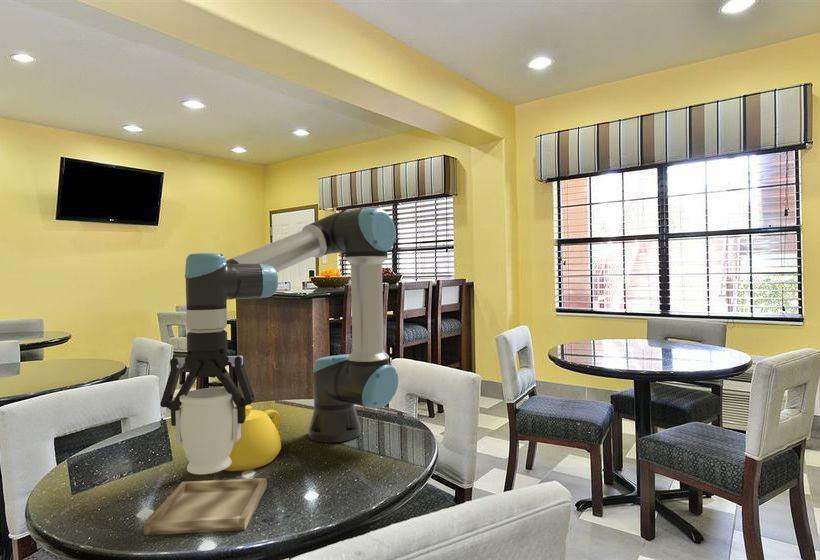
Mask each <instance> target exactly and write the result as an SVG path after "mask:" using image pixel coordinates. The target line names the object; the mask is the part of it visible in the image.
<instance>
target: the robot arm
mask: <svg viewBox="0 0 820 560" xmlns="http://www.w3.org/2000/svg"><path fill="white" fill-rule="evenodd" d="M396 237H397V232H396V225H395V223H394V221H393V219H392V217H390V215H389V213H388V212H386V210H384V209H381V208H377V207H375V208H374V207H364V208H361V209H352V210H348V211H339V212H336V213H335V212H334V213H332V214H330V215H328V216H326V217H323V218H321V219H318V220H315V221H314V222H311V223H309V224H307V225H305V226H303V228H302V229H301V231H299V232H296V233H294V234H291V235H288V236H285V237H283V238H281V239H278V240H275V241H273V242H270V243H267V244H265V245H263V246H260V247H258V248H255V249H252V250H249V251H247V252H244V253H242V254H239V255H237V256H234V257H231V258H229V259H227V257H226V255H225V254H224V253H213V252H200V253H199V252H198V253H194V252H193V253H190V254H189V255H187V256H186V259H185V270H184V271H185V272H184V278H185V303H186V304H185V305H186V307H185V308H186V309H185V313H186V317H185V318H186V319H185V320H186V321H185V322H186V323H185V324H186V326H185V327H186V329H187V330H188V332H187V333H186V356H184V357H183V356H182V357H180V356H175V357H173V358H171V359H170V360H169V367H170V370H169V374H168V377H167V380H166V384H165V388H164V391H163V394H162V397H161V401H160V407H161V408H167V409H168V410H170V425H171V426H172V427H175V444H177V445H179V444H182V443H183V441H182V438H181V432H180V416H181V410H182V407H181V406H182V405H183V403H181V402H180V396H181V395H184V394H185V396H186V395H187V394H188V392H189V391H191V388H192V387H193V385H194V384H195V383H196V381H197V379H198V378H201V379H202V378H205V377H207V378H216V379H217V380H218V381H220V383H221V385H222V386H223V388H225V389H226V391H227V392H228V393H229V394H231V395H232V400H233V401H234V405H235V408H233V442H237V441H238V440H239V439H240V438H241V423H244V422H245V419H246V411H245V407H246V405H248V406H251V404H252V403H253V402H255V400H256V398H255V395H254V392H253V389H252V386H251V383H250V380H249V376H248V374H247V371H246V369H245V357H244V355H242V354H240V355H230V354H229V352H228V332H227V330H226V328H227V327H228V324H227V323H228V322H227V321H228V320H227V319H228V318H227V317H228V316H227V315H228V313H227V308H228V307H227V306H228V305H227V304H228V302H227V300H241V299H243V300H244V299H247V300H249V299H259V300H260V299H264V298H270V297H272V296H274V295H275V293H276V292H277V289H278V286H279V276H278V273H279V272H281V271H283V270H285V269H288V268H289V267H293V266H294V265H297V264H299V263H301V262H303V261H305V260H308V259H310V258H312V257H313V258H321V257H324V256H326V255H330V254H341V253H344V258H345V260H346V261H347V262H348V263H349V264H350V282H351V283H350V284H351V285H350V289H351V291H350V292H351V337H352V350H351V352H350V353H348V354H347V353H346V354H345V353H344V354H337V355H335V354H334V355H328V356H323V357H319V358H317V359H315V361H314V362H313V371H312V377H313V378H312V379H313V382H312V383H313V406H314V408H313V412H312V416H311V419H310V423H309V427H308V438H309V439H310V440H312V441H313V442H318V443H326V444H327V443H330V444H331V443H333V444H334V443H342V442H347V441H351V440H354V439H356V438H357V437H360V435H361V433H362V432H361V431H362V426H361V423H360V420H359V416H358V413H357V411H356V408H355V405H357V406H358V405H359V406H361V407H362V406H363V407H366V408H376V409H380V408H384V407H385V406H387V405H388V404H389V403H390V402H392V400H393V398H394V397H395V395H396V393H397V391H398V387H399V373H398V371H397V369H396V368H395V367H394V366H392V365H391V364H390V355H389V354H388V353H387V352H385V350H384V303H383V301H384V299H383V297H384V295H383V292H384V291H383V290H384V289H383V264H384V262H385V261H387V259H388V251H389V250H391V249H392V248H393V247H394V244H395V243H396V239H397V238H396ZM229 363H230V364H231V366H232V367H233V368H234V371H235V372H234V373H235V375H236V377H237V378H236V379H237V381H238V383H239V384H238V385H239V386H240V389H241V392H242V393H241V392H240V390H239V388H238V387H237V385H236V384H235V382H234V381H233V379H232V378H231V376H230V373H229V371H228V369H226V366H228V364H229ZM185 365H186V366H187V367H188V368H189V370H190V371H189V373H188V374H187V376H186V378H185V380H184V382H183V384H182V385H181V387H180V388H179V390H178V392H177V394H176V395H175V392H176V389H177V386H178V382H179V378H180V376H181V372H182V369H183V368H184V367H185ZM174 395H175V397H174Z"/></svg>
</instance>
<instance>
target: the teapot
mask: <svg viewBox="0 0 820 560" xmlns="http://www.w3.org/2000/svg"><path fill="white" fill-rule="evenodd" d="M245 411H246V419H245V422H244V423H241V438H240V439H239V440H238V441H237V442H234V444H233V448H232V451H231V453H230V455H229V457H230V458H231V460H232V463H231V465H230V466H229V467H227V468H226V469H224V470H223V471H227V472H242V471H249V470H250V471H251V470H255V469H258V468H261V467H264V466H266V465H268V464H270V463H272V462H273V461H274V460H275V459H276V457H277V456H278V455H279V453H280V451H281V449H282V440H283V439H284V434H283V432H282V431H280V430H279V429H280V425H281V415H280V412H278V411H277V410H275V409H267V410H264V411H263V410H259V409H252V406H251V405H246V407H245ZM271 414H272V415H273V417H274V420H273V421H272V419H271V418H270V416H269V415H271Z"/></svg>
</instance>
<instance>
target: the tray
mask: <svg viewBox="0 0 820 560" xmlns="http://www.w3.org/2000/svg"><path fill="white" fill-rule="evenodd" d="M267 479H268V478H267V477H264V478H263V477H260V478H258V477H257V478H239V479H238V478H237V479H216V480H215V479H213V480H195V481H194V480H193V481H182V482H181V483H180V484H179V485H178V486H177V487H176V488H175V489H174V490H173V492H172V493H171V494H170V495H169V496H168V497H167V498H166V499H165V500H164V501H163V502H162V503H161V504H160V505H159V506H158V508H157V509H156V510H154V511H153V513H152V514H151V515H150V516H149V517H148V518H147V519H146V520H145V521H144V523H143V535H144V536H157V535H174V534H175V535H177V534H195V533H199V534H200V533H212V532H213V533H214V532H216V533H217V532H234V531H246V529H247V527H248V524H249V523H250V521H251V520H252V517H253V515H254V514H255V511H256V510H257V508H258V505H259V504H260V502H261V500H262V498H263V496H264V494H265V492H266V490H267V488H268V487H267V486H268V484H267V483H268V482H267Z"/></svg>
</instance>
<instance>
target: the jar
mask: <svg viewBox="0 0 820 560" xmlns="http://www.w3.org/2000/svg"><path fill="white" fill-rule="evenodd" d="M180 402H181V403H182V405H181V406H182V410H181V416H180V432H181V438H182V441H183V442H182V447H183V452H184V454H185V457H186V459H187V461H188V462H189V463H188V464H187V466H186V471H187V472H188V473H190V474H192V475H209V474H210V475H211V474H215V473H218V472H221V471H225V470H224V469H226V468H227V467H229V466H230V465H231V463H232V460H231V458H230V457H229V455H230V453H231V451H232V448H233V444H234V442H233V408H235V407H236V404H235V403H234V401H233V400H232V395H231V394H229V393H228V392H227V391H226V389H225V388H224V386H223V387H218V386H217V387H216V386H215V387H208V388H207V387H204V388H198V389H194V390H190V391H189V392H188V394H187V395H186V396H185V394H184V395H181V396H180Z"/></svg>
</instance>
